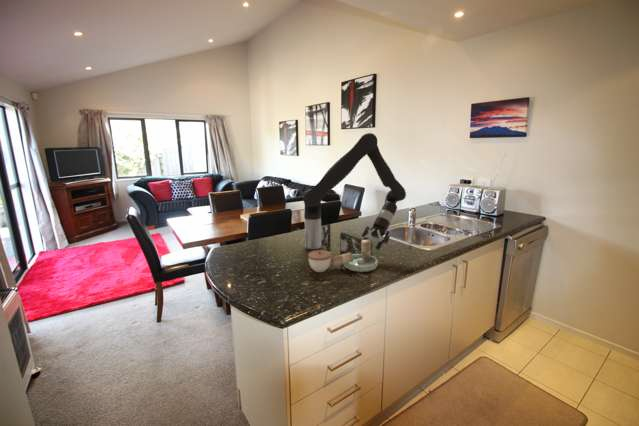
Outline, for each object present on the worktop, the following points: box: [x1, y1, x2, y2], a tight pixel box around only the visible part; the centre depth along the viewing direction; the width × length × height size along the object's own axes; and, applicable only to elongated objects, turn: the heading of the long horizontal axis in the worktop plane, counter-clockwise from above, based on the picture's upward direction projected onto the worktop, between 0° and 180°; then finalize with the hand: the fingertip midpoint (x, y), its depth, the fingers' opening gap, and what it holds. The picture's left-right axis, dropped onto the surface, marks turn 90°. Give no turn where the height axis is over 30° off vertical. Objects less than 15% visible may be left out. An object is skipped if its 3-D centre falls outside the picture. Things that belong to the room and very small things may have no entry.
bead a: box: [360, 239, 372, 262], centre depth 149 cm, size 4×4×10 cm
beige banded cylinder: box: [331, 251, 353, 268], centre depth 143 cm, size 4×4×10 cm
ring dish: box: [343, 253, 379, 273], centre depth 147 cm, size 16×16×3 cm
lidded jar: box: [307, 249, 332, 273], centre depth 142 cm, size 11×11×9 cm
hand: (369, 247), depth 150 cm, fingers open, 8 cm apart
